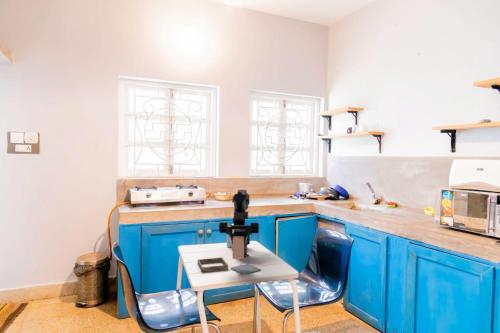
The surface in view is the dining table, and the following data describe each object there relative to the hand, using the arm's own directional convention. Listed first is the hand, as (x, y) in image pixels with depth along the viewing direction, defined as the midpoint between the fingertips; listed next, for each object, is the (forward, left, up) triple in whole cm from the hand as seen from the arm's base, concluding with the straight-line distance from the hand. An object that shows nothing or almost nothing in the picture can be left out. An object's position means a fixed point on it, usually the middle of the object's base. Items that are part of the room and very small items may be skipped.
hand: (238, 243), depth 144 cm
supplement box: (-23, -34, -13) cm, 43 cm away
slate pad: (-4, +1, -12) cm, 13 cm away
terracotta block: (-1, -1, -7) cm, 7 cm away
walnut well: (+6, -12, -12) cm, 18 cm away
